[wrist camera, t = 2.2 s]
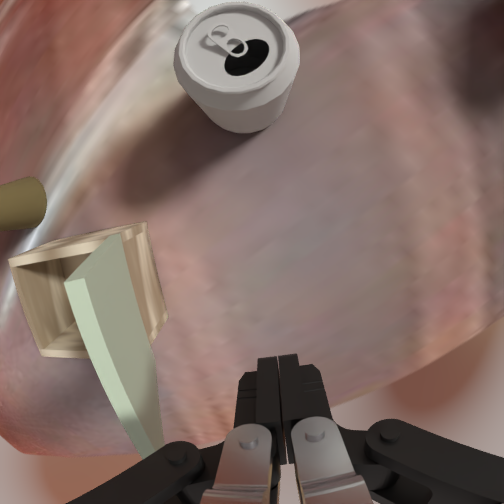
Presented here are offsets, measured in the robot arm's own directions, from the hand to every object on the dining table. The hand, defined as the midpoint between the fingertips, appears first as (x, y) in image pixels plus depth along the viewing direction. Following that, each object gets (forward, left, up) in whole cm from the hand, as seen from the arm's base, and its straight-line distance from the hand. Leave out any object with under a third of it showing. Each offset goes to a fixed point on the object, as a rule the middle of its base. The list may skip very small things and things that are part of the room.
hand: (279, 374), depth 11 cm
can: (0, +15, -18) cm, 23 cm away
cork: (-26, +10, -18) cm, 33 cm away
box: (-17, 0, -18) cm, 25 cm away
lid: (-9, 0, -4) cm, 9 cm away
